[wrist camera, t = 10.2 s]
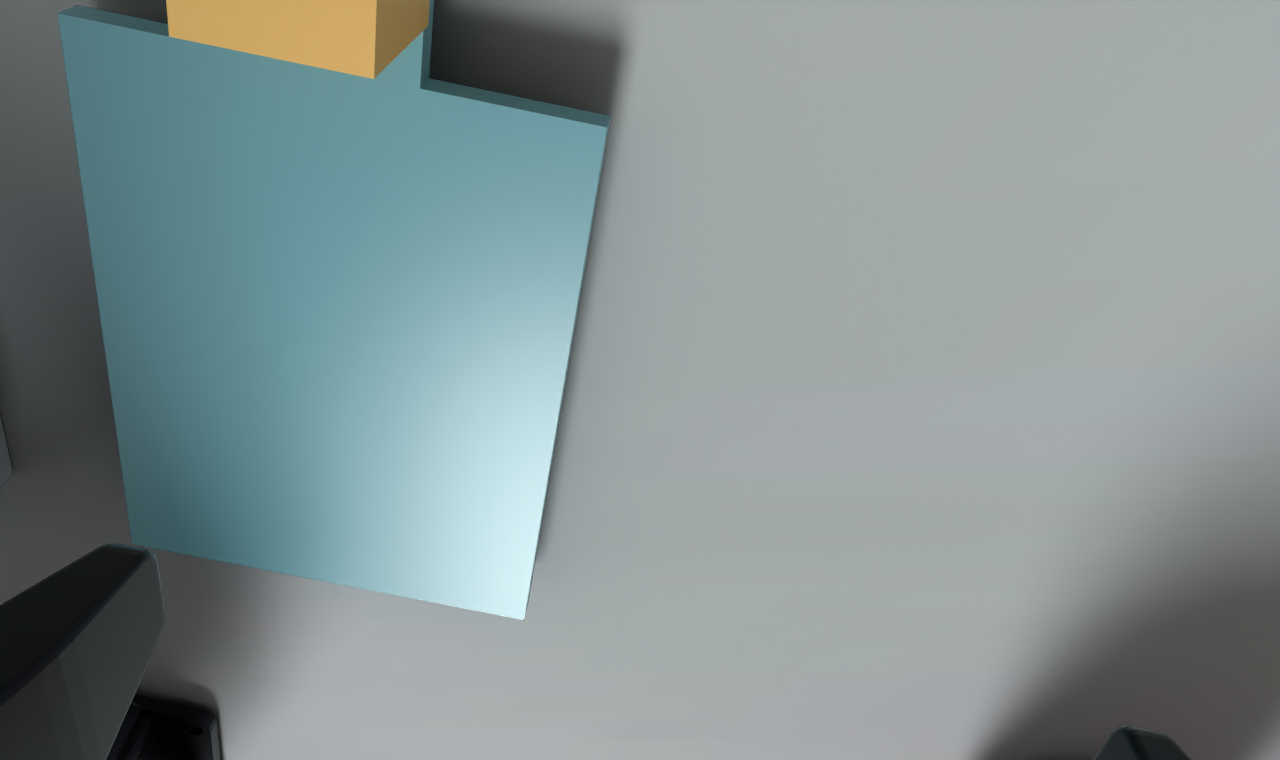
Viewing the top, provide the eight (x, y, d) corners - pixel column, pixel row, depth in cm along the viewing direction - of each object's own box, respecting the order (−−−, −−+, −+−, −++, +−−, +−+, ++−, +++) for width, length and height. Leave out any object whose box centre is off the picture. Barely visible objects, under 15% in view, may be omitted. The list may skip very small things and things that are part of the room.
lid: (534, 578, 26) (501, 711, 22) (159, 506, 25) (69, 629, 22) (645, -70, 17) (620, -15, 14) (79, -190, 17) (-90, -166, 13)
